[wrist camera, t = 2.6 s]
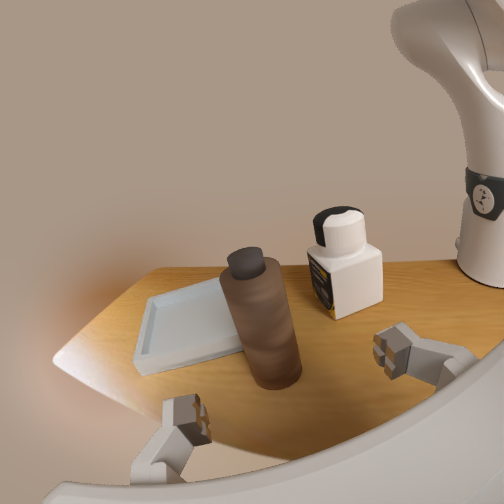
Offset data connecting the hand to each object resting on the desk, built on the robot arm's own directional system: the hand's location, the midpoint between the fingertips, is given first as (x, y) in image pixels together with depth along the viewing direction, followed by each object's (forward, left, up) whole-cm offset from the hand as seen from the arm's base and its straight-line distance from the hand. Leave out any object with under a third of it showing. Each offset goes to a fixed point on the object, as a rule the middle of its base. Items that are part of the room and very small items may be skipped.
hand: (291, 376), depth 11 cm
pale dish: (+8, -25, -13) cm, 29 cm away
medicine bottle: (-12, -20, -13) cm, 27 cm away
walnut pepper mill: (0, -12, -13) cm, 18 cm away
